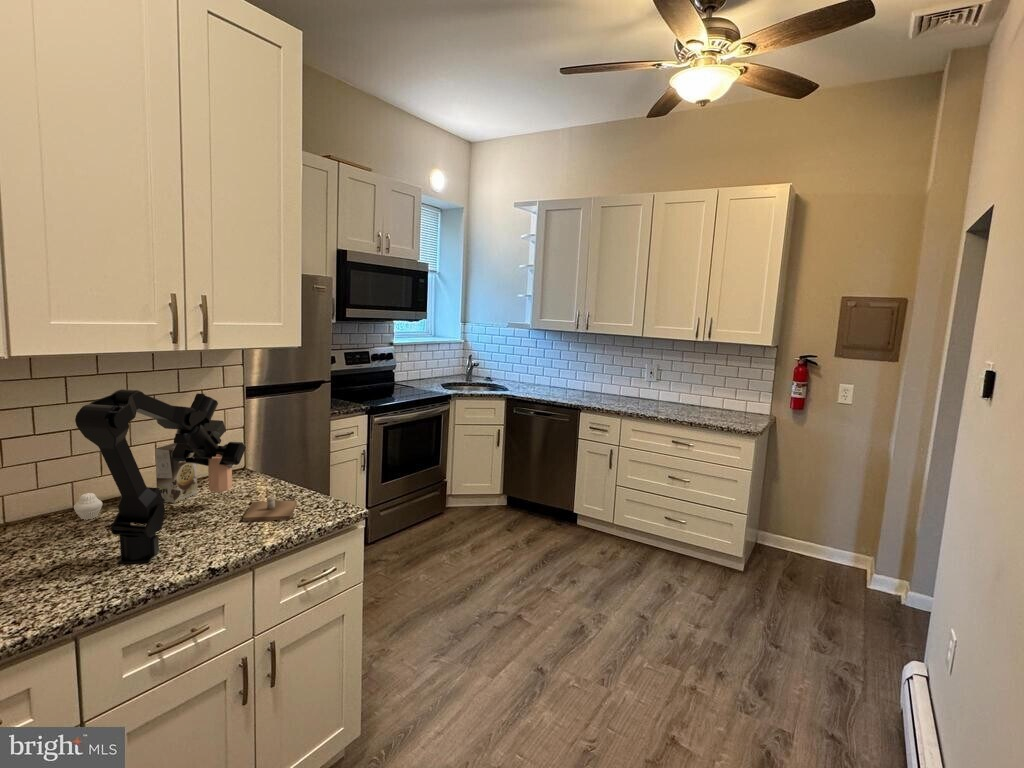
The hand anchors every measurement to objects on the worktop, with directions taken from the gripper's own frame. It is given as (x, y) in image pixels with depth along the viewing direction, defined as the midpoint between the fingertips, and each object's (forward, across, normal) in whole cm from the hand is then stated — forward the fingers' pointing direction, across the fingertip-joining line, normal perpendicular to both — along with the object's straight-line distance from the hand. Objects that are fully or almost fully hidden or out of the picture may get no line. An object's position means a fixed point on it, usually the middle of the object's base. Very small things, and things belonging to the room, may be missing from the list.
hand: (221, 465), depth 161 cm
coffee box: (+11, +16, +6) cm, 20 cm away
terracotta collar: (+4, 0, +5) cm, 7 cm away
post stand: (+6, -16, +11) cm, 20 cm away
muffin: (-2, +28, +19) cm, 34 cm away
